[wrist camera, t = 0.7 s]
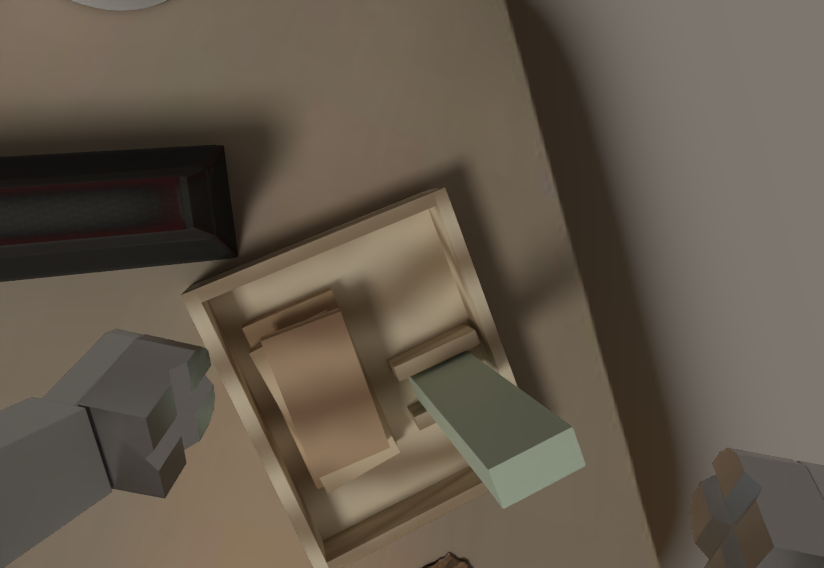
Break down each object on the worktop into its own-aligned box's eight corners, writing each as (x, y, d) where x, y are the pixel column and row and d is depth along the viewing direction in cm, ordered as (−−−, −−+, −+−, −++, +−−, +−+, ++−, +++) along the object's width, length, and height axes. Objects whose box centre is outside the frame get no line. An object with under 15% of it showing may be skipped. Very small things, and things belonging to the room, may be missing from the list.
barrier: (223, 142, 42) (210, 123, 33) (238, 259, 43) (230, 273, 34) (-156, 164, 37) (-306, 148, 27) (-125, 296, 38) (-258, 326, 28)
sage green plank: (405, 371, 46) (488, 470, 29) (460, 346, 47) (572, 426, 30) (416, 397, 47) (503, 508, 29) (470, 371, 47) (585, 465, 30)
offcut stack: (241, 325, 42) (238, 337, 38) (329, 287, 44) (335, 295, 40) (314, 481, 45) (319, 508, 41) (395, 442, 47) (407, 464, 43)
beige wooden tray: (189, 286, 43) (180, 295, 38) (428, 189, 46) (444, 187, 42) (314, 545, 48) (319, 579, 43) (521, 440, 51) (544, 462, 47)
